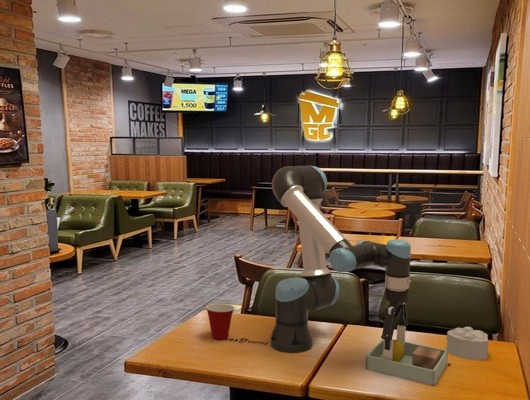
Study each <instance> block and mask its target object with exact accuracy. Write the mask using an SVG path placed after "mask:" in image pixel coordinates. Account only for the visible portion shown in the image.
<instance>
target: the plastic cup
mask: <svg viewBox="0 0 530 400" xmlns="http://www.w3.org/2000/svg"><path fill="white" fill-rule="evenodd" d="M205 309H206V311H207V315H208V320H209V322H208V323H209V327H210V332H211V337H212V338H213V340H215V341H216V340H217V341H223V340H226V339H228V337H229V332H230V328H231V322H232V316H233V313H234V310H235V306H234V305H231V304H227V303H212V304H207V305H206V307H205Z"/></svg>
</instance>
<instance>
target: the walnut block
mask: <svg viewBox="0 0 530 400" xmlns="http://www.w3.org/2000/svg"><path fill="white" fill-rule="evenodd" d="M440 356H441V351H439V350H434V349H429V348H424V347H420V346H418V347H417V349H416V350H415V351H414V352H413V354H412V365H413V366H417V367H421V368H426V369H430V370H433V369H434V368H435V366H436V365H437V363H438V362H439V360H440Z"/></svg>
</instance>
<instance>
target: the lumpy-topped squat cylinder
mask: <svg viewBox="0 0 530 400" xmlns="http://www.w3.org/2000/svg"><path fill="white" fill-rule="evenodd" d="M488 337H489V335H488V334H487V333H485V332H484V331H482V330H479V329H475V330H474V329H473V327H471V326H465V327H464V326H463V328H462V327H455V328H454V329H451V330H448V331H447V333H446V350H448V354H451V355H453V356H455V357H459V358H462V359H466V360H473V361H474V360H475V361H486V360H488V355H489V339H488Z"/></svg>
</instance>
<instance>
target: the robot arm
mask: <svg viewBox="0 0 530 400" xmlns="http://www.w3.org/2000/svg"><path fill="white" fill-rule="evenodd" d="M327 187H328V179H327V176H326V173H325V172H324V171H323V170H322V169H321V168H320V167H317V166H315V165H314V166H313V165H294V166H291V165H290V166H289V165H287V166H283V167H281V168H279V169H278V170H277V171H276V172H275V173H274V175H273V177H272V180H271V189H272V192H273V194H274V196H275V199H277V201H278V203H280V205H282V206H283V207H284V208H285V207H286V208H288V209H289V210H290V211H291V213H293V215H294V216H295V217H296V218H297V220H298V221H297V222H298V228H299V229H298V230H299V231H298V232H299V239H300V247H301V248H300V249H301V257H302V266H303V270H302V272H301V273H300V274H299V275H300V277H297V276H296V277H288V278H284V279H281V280H280V281H279V282H277V284H276V288H275V292H274V296H275V322H274V323H275V324H274V328H273V330H272V333H271V335H270V346H271V348H272V349H275V350H277V351H278V352H279V351H280V352H284V353H302V352H305V351H306V352H307V351H308V350H310V349H311V348H312V347H313V337H312V336H313V335H312V333H311V330H310V329H311V328H310V326H309V313H312V312H314V311H317V310H322V309H326V308H328V307H329V306H331V305H334V304H335V303H336V302H337V300H338V299H339V295H340V285H339V283H338V280H336V278H335V277H334V276H333V275H332V271H331V269H329V268H328V267H327V262H326V253H327V254H328V255H329V257H328V260H329V261H328V262H329V263H330V266H331V268H332V269H333V270H334V271H335V272H338V273H347V272H352V271H354V270H357V269H362V268H368V267H370V266H376V267H379V268H380V267H381V268H385V277H384V278H385V279H384V280H385V281H384V286H385V288H384V299H385V300H386V301H388V302H389V305H388V307H387V306H386V307H385V316H384V322H383V327H382V333H381V336H380V338H381V340H383V339H384V350H383V358H385V359H389V360H392V354H393V339H394V338H393V336H394V332H395V328H396V338H395V340H397V341H399V342H401V343H402V345H405V342H406V330H407V329H406V328H407V327H409V318H408V316H409V315H408V310H407V302H408V301H409V297H410V291H409V288H410V284H411V283H412V280H411V279H410V275H411V274H410V273H411V272H410V270H411V259H412V254H411V253H412V251H411V249H412V248H411V243H410V242H409V241H408V240H405V239H389V240H387V242H386V243H385V244H384V243H378V242H376V241H375V242H373V241H370V240H359V241H357V243H355V245H353V244H352V243H351V242H350V241H349V240H348V239H347V238H346V237H345V236H344V234H342V232H340V230H338V228H337V227H336V226H335V225H334V224H333V223H332V222H331V221H330V220H329V218H328V217H326V215H325V214H324V213H323V212H322V211H321V207H320V204H321V203H322V201H323V200H324V198H323V194H325V193H326V190H327ZM325 251H326V252H325ZM396 324H397V325H396ZM406 326H407V327H406Z"/></svg>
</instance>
